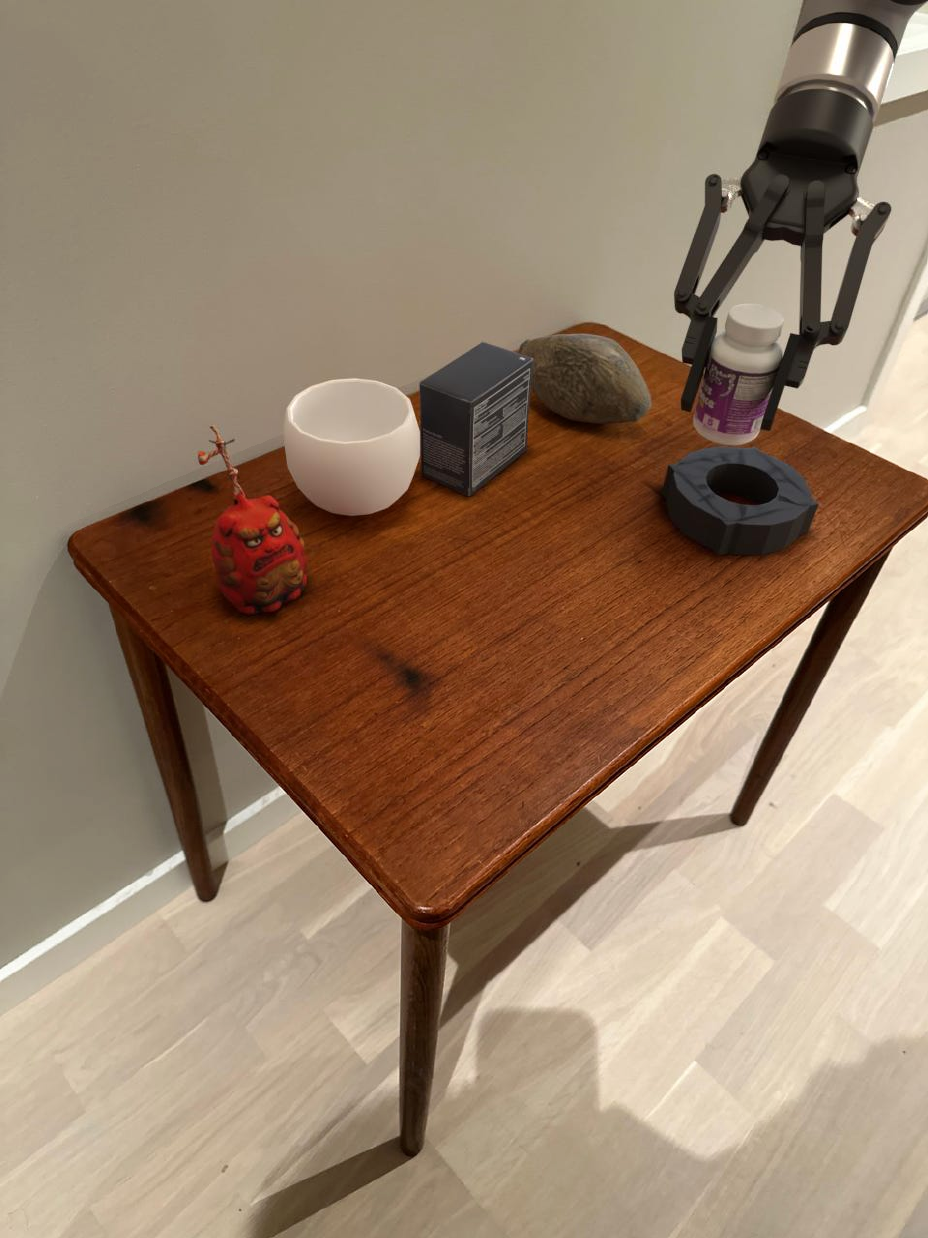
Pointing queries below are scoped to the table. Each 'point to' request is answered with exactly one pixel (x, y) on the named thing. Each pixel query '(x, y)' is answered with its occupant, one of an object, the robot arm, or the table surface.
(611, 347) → the stone
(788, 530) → the dark grey faceted ring
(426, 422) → the small box
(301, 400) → the cup
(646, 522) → the table surface
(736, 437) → the pill bottle
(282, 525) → the red clay folk toy
